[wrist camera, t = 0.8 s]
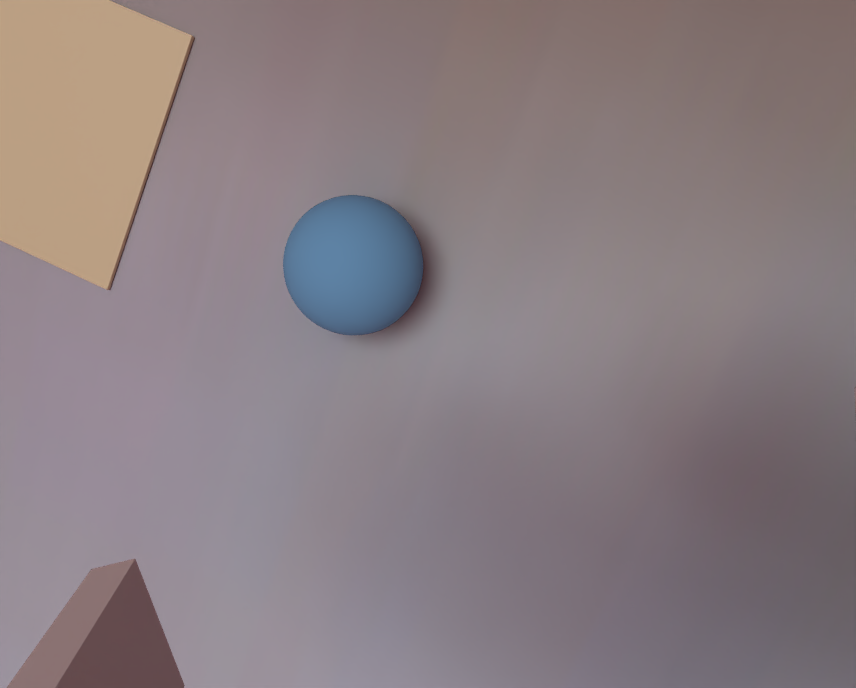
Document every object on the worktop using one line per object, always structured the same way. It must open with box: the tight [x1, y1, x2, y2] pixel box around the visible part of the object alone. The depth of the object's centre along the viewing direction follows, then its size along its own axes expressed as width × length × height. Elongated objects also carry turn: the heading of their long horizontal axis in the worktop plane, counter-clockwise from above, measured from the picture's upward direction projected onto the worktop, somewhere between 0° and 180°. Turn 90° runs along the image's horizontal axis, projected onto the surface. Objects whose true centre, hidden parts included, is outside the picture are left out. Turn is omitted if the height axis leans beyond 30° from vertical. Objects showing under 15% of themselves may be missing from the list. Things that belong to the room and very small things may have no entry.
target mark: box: [0, 0, 194, 290], centre depth 29 cm, size 12×12×1 cm
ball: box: [283, 195, 423, 335], centre depth 25 cm, size 6×6×6 cm
